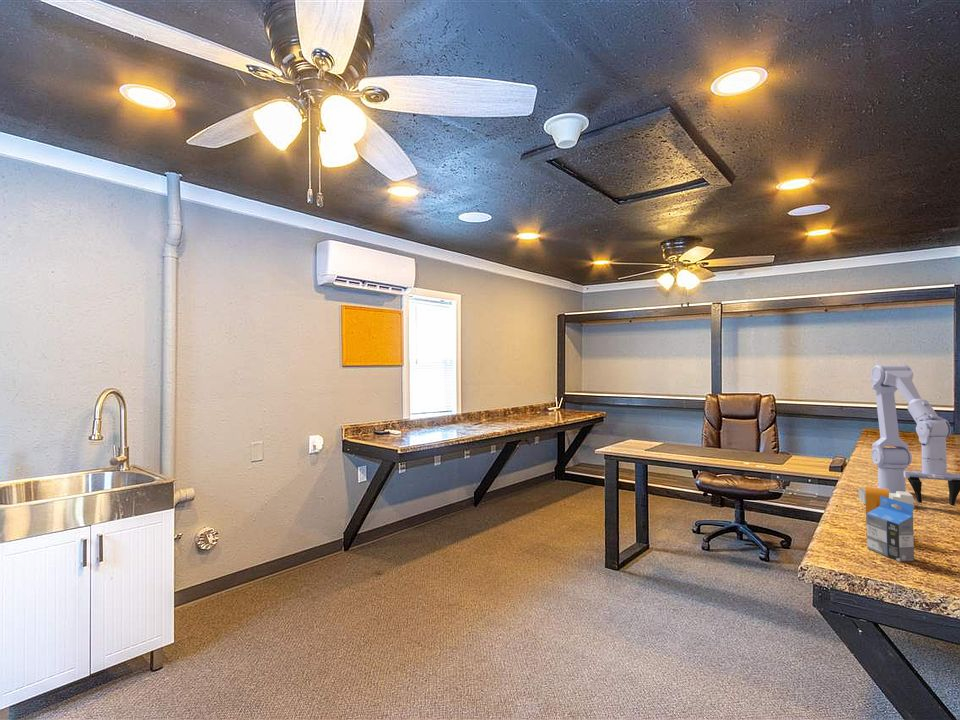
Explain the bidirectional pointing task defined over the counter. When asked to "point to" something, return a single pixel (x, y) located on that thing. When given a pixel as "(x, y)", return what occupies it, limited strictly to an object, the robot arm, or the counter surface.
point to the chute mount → (863, 495)
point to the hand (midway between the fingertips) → (935, 503)
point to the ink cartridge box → (891, 530)
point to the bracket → (874, 498)
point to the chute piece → (902, 497)
